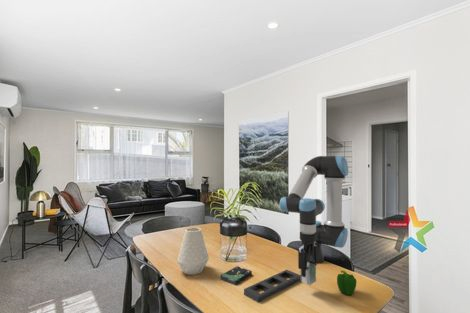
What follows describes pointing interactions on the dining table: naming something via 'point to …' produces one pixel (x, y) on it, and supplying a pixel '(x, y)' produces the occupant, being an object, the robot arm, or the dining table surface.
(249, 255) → the dining table surface
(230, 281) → the disk drive
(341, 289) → the bell pepper
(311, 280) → the block
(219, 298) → the dining table surface
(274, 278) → the rail
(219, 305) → the dining table surface
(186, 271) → the vase
